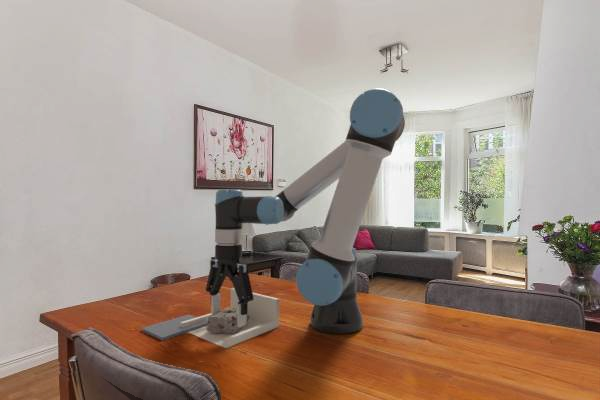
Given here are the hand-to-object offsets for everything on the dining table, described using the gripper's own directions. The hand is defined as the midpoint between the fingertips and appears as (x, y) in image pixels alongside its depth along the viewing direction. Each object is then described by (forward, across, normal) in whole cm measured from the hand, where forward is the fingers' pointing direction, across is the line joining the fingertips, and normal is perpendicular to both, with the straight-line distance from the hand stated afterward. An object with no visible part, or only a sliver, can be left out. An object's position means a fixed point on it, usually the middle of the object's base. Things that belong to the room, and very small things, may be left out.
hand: (228, 321), depth 99 cm
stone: (+2, 0, 0) cm, 2 cm away
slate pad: (+2, +12, +9) cm, 15 cm away
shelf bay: (+2, 0, 0) cm, 2 cm away
